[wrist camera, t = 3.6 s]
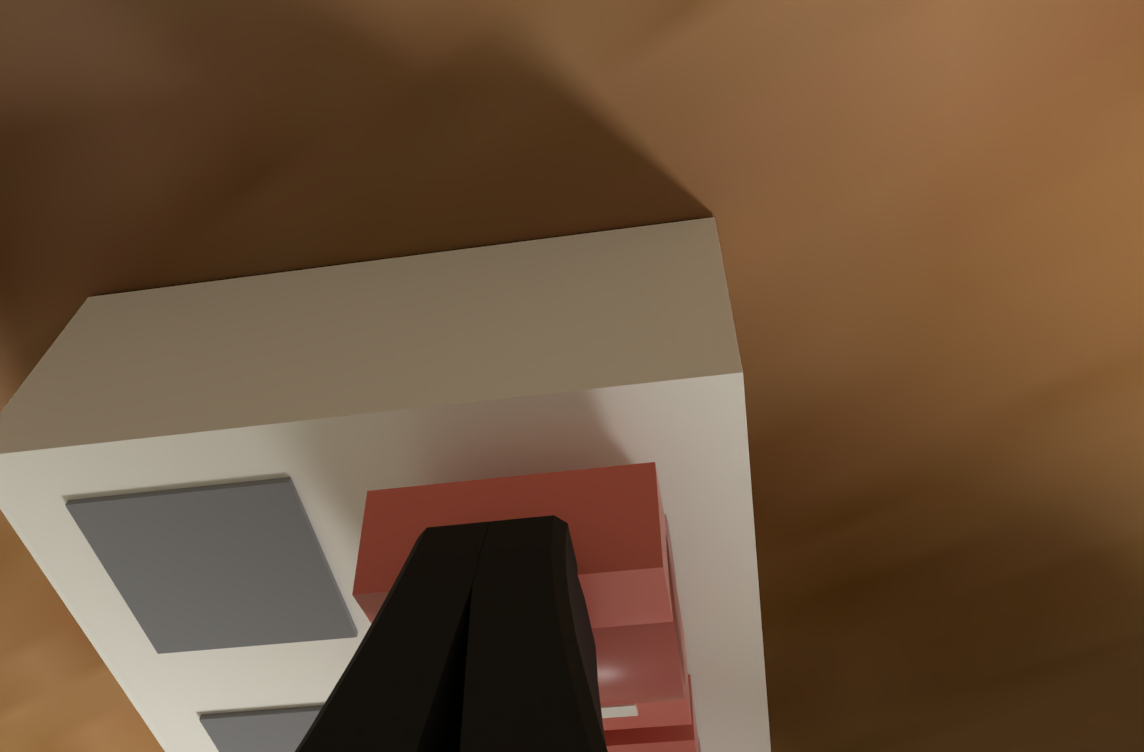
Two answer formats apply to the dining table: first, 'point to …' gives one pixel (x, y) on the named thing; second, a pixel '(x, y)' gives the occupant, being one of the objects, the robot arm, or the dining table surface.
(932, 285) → the dining table surface
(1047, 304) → the dining table surface
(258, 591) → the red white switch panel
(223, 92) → the dining table surface
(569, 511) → the rocker
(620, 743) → the red stepped block
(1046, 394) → the dining table surface
